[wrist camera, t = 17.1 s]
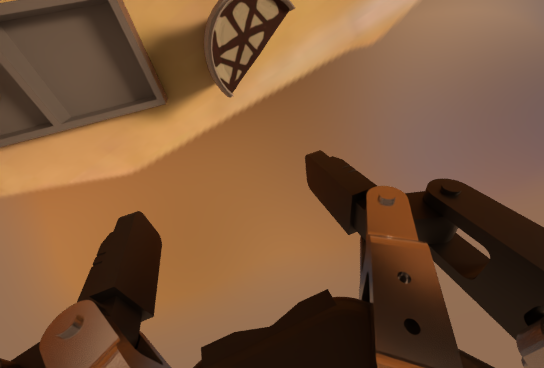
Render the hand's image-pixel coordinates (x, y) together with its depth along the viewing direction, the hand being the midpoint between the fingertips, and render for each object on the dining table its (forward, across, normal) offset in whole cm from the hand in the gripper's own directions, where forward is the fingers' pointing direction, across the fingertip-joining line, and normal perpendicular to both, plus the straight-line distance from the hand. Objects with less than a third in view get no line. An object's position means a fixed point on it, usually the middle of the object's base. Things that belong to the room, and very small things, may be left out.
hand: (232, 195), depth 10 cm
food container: (+28, -6, -6) cm, 30 cm away
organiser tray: (+28, +18, -6) cm, 34 cm away
